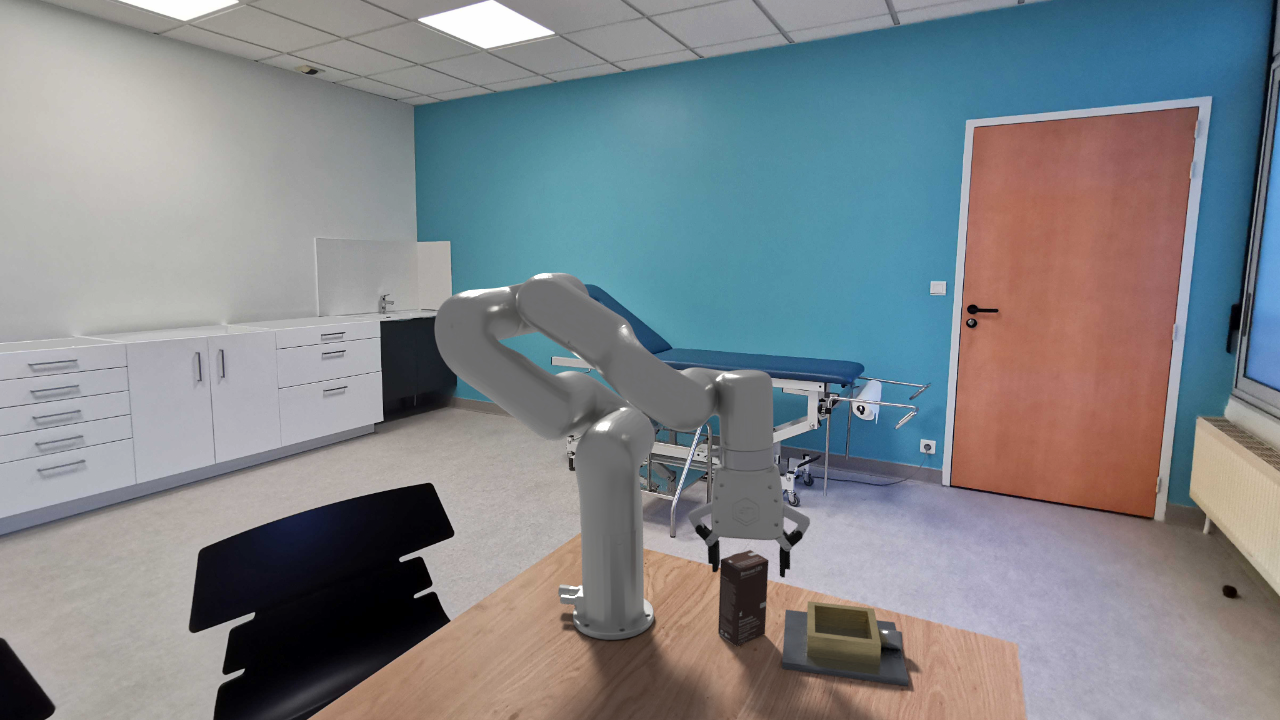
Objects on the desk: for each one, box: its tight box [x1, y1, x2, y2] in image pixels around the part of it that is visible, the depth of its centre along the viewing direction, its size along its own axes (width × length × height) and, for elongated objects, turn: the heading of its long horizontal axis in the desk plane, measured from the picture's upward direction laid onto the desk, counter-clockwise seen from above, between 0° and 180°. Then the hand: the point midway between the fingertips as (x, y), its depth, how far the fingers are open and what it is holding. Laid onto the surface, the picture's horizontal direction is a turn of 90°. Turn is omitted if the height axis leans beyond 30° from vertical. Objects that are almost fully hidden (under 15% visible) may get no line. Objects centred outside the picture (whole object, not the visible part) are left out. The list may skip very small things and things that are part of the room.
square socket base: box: [781, 600, 909, 687], centre depth 93 cm, size 16×14×4 cm
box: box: [717, 549, 770, 647], centre depth 96 cm, size 6×4×12 cm
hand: (749, 570), depth 95 cm, fingers open, 9 cm apart
